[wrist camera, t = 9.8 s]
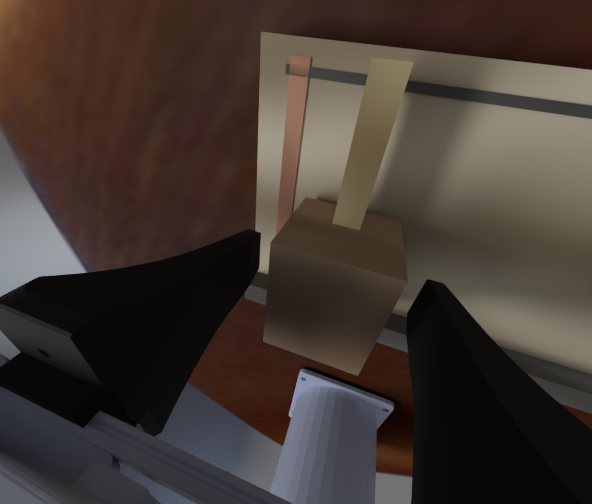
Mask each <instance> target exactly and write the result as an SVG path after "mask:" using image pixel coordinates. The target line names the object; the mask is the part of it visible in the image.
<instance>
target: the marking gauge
mask: <svg viewBox="0 0 592 504" xmlns="http://www.w3.org/2000/svg"><path fill="white" fill-rule="evenodd" d="M413 63H414V62H406V61H398V60H390V59H382V58H374V57H372V59H371V64H370V68H369V72H368V76H367V80H366V85H365V89H364V93H363V97H362V101H361V105H360V110H359V114H358V118H357V122H356V126H355V131H354V135H353V139H352V143H351V147H350V151H349V156H348V160H347V164H346V168H345V172H344V177H343V181H342V185H341V189H340V193H339V197H338V202H337V204H333V203H328V202H324V201H320V200H316V199H312V198H307V197H306V198H305V199H304V200H303V201H302V203H301V204H300V205H299V207H298V208H297V209H296V210H295V212H294V213H293V214H292V216H291V217H290V218H289V219H288V221H287V222H286V223H285V225H284V226H283V227H282V228H281V230H280V231H279V232H278V234H277V235H276V236H275V237H274V239H273V240H272V241H271V243H270V255H269V269H268V283H267V297H266V311H265V325H264V338H263V342H266V343H269V344H271V345H274V346H277V347H280V348H282V349H285V350H288V351H291V352H293V353H296V354H299V355H302V356H304V357H307V358H310V359H313V360H315V361H318V362H321V363H324V364H326V365H329V366H332V367H335V368H337V369H340V370H343V371H346V372H348V373H351V374H354V375H357V376H358V375H359V373H360V371H361V369H362V367H363V365H364V363H365V362H366V360H367V358H368V356H369V354H370V352H371V350H372V348H373V347H374V345H375V343H376V341H377V339H378V337H379V335H380V333H381V332H382V330H383V328H384V326H385V324H386V322H387V320H388V319H389V317H390V315H391V313H392V311H393V309H394V307H395V305H396V304H397V302H398V300H399V298H400V296H401V294H402V292H403V291H404V289H405V287H406V285H407V283H408V276H407V268H406V260H405V252H404V244H403V236H402V228H401V220H399V219H395V218H391V217H387V216H383V215H379V214H374V213H370V212H366V210H367V206H368V203H369V200H370V197H371V194H372V191H373V188H374V185H375V182H376V178H377V175H378V172H379V169H380V166H381V163H382V160H383V157H384V154H385V150H386V147H387V144H388V141H389V138H390V135H391V132H392V129H393V126H394V122H395V119H396V116H397V113H398V110H399V107H400V104H401V101H402V98H403V94H404V91H405V88H406V85H407V82H408V79H409V76H410V73H411V70H412V66H413Z"/></svg>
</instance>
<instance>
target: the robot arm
mask: <svg viewBox="0 0 592 504" xmlns="http://www.w3.org/2000/svg"><path fill="white" fill-rule="evenodd" d="M260 243H261V233H260V232H257V231H253V230H249V229H248V230H245V231H242V232H240V233H237V234H235V235H232V236H230V237H228V238H225V239H223V240H220V241H218V242H215V243H213V244H210V245H207V246H205V247H202V248H199V249H196V250H193V251H191V252H188V253H185V254H182V255H178V256H175V257H171V258H167V259H164V260H160V261H155V262H151V263H146V264H141V265H136V266H131V267H126V268H119V269H113V270H106V271H98V272H90V273H80V274H70V275H69V274H68V275H57V276H43V277H38V278H36V279H34V280H32V281H30V282H28V283H26V284H24V285H22V286H20V287H18V288H17V289H15V290H13V291H11V292H9V293H7V294H5V295H3V296H1V297H0V330H1V331H2V333H4V335H5V336H6V337H7V338H8V339H9V340H10V341H11V342H12V343H13V344H14V345H15V346H16V347H17V348H18V349H19V350H20V351H21V353H19V354H18V355H17V356H15V357H14V358H13V359H11V360H9V359H8V358H6V357H5V356H3V355H2V354H0V504H161V503H160V502H158V501H157V500H156V499H155V498H154V497H153V496H151V494H150V493H149V491H148V489H146V488H145V487H143V486H141V485H140V484H138V483H136V482H135V481H133V480H131V479H130V478H128V477H126V476H125V475H123V474H122V473H120V464H122V465H124V466H126V467H128V468H130V469H131V470H134V471H135V472H137V473H139V474H141V475H143V476H145V477H147V478H149V479H151V480H153V481H154V482H156V483H158V484H160V485H162V486H164V487H166V488H168V489H170V490H172V491H174V492H175V493H177V494H179V495H181V496H183V497H185V498H187V499H189V500H191V501H193V502H195V503H197V504H375V477H376V437H377V429H378V428H379V426H380V425H381V424H382V423H383V422H384V421H385V419H386V418H387V417H388V416H389V415H390V413H391V412H392V411H393V410H394V403H393V402H392V401H390V400H388V399H385V398H382V397H379V396H377V395H374V394H371V393H369V392H366V391H363V390H361V389H358V388H355V387H353V386H350V385H347V384H345V383H342V382H339V381H337V380H334V379H331V378H328V377H326V376H323V375H320V374H318V373H315V372H312V371H310V370H307V369H301V370H300V372H299V376H298V380H297V384H296V388H295V392H294V396H293V400H292V404H291V408H290V412H289V416H290V417H291V421H290V425H289V428H288V432H287V435H286V439H285V442H284V446H283V449H282V453H281V456H280V459H279V463H278V466H277V470H276V473H275V477H274V480H273V484H272V487H271V491H270V492H267V491H265V490H263V489H261V488H259V487H257V486H255V485H253V484H251V483H249V482H247V481H245V480H243V479H241V478H239V477H236V476H234V475H232V474H230V473H228V472H226V471H224V470H222V469H220V468H218V467H216V466H214V465H212V464H209V463H207V462H205V461H203V460H201V459H199V458H197V457H195V456H193V455H191V454H189V453H187V452H185V451H183V450H181V449H178V448H176V447H174V446H172V445H170V444H168V443H166V442H164V441H162V440H160V439H158V438H156V437H154V436H156V435H158V434H159V433H161V432H162V430H163V428H164V426H165V424H166V422H167V420H168V418H169V416H170V414H171V412H172V410H173V408H174V406H175V404H176V402H177V400H178V398H179V396H180V394H181V392H182V391H183V389H184V387H185V385H186V383H187V381H188V379H189V378H190V376H191V374H192V372H193V370H194V368H195V367H196V365H197V363H198V361H199V360H200V358H201V356H202V354H203V352H204V351H205V349H206V347H207V346H208V344H209V342H210V341H211V339H212V337H213V336H214V334H215V332H216V331H217V329H218V328H219V326H220V325H221V323H222V322H223V320H224V319H225V318H226V316H227V315H228V314H229V312H230V311H231V310H232V308H233V307H234V306H235V304H236V303H237V302H238V301H239V299H240V298H241V297H242V295H243V294H244V292H245V291H246V290H247V288H248V287H249V286H250V284H251V282H252V281H253V279H254V277H255V275H256V273H257V271H258V269H259V265H260ZM406 337H407V347H408V356H409V364H410V373H411V381H412V390H413V413H414V440H413V477H412V501H411V504H592V430H591V429H590V428H589V427H587V426H586V425H585V424H584V423H582V422H581V421H580V420H579V419H578V418H576V417H575V416H574V415H573V414H572V413H571V412H569V411H568V410H567V409H566V408H565V407H563V406H562V405H561V404H560V403H559V402H557V401H556V400H555V399H554V398H553V397H552V396H551V395H549V394H548V393H547V392H546V391H545V390H544V389H543V388H542V387H540V386H539V385H538V384H537V383H536V382H535V381H534V380H533V379H532V378H531V377H530V376H529V375H528V374H527V373H525V372H524V371H523V370H522V369H521V368H520V367H519V366H518V365H517V364H516V363H515V362H514V361H513V360H512V359H511V358H510V357H509V356H508V355H507V354H506V353H505V352H504V351H503V350H502V349H501V348H500V347H499V346H498V345H497V343H496V342H495V341H494V340H493V339H492V338H491V337H490V336H489V335H488V334H487V333H486V332H485V330H484V329H483V328H482V327H481V326H480V325H479V324H478V323H477V321H476V320H475V319H474V318H473V317H472V316H471V314H470V313H469V312H468V311H467V310H466V309H465V307H464V306H463V305H462V304H461V303H460V301H459V300H458V299H457V298H456V297H455V295H454V294H453V293H452V292H451V291H450V290H449V289H448V287H447V286H446V285H445V284H444V283H441V282H437V281H433V280H430V279H427V280H426V282H425V283H424V285H423V287H422V289H421V290H420V292H419V294H418V295H417V297H416V299H415V300H414V302H413V304H412V306H411V307H410V309H409V311H408V312H407V326H406ZM119 463H120V464H119Z"/></svg>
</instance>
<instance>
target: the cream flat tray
mask: <svg viewBox="0 0 592 504" xmlns="http://www.w3.org/2000/svg"><path fill="white" fill-rule="evenodd" d="M372 57H374V58H382V59H390V60H398V61H406V62H414V63H413V66H412V70H411V73H410V76H409V79H408V82H407V85H406V88H405V91H404V94H403V98H402V101H401V104H400V107H399V110H398V113H397V116H396V119H395V122H394V126H393V129H392V132H391V135H390V138H389V141H388V144H387V147H386V150H385V154H384V157H383V160H382V163H381V166H380V169H379V172H378V175H377V178H376V182H375V185H374V188H373V191H372V194H371V197H370V200H369V203H368V206H367V210H366V212H370V213H374V214H379V215H383V216H387V217H391V218H395V219H399V220H401V228H402V236H403V244H404V252H405V260H406V268H407V276H408V283H407V285H406V287H405V289H404V291H403V292H402V294H401V296H400V298H399V300H398V302H397V304H396V305H395V307H394V309H393V311H392V313H391V315H390V317H389V319H388V320H387V322H386V324H385V326H384V328H383V330H382V332H381V333H380V335H379V337H378V339H377V341H376V342H378V343H381V344H384V345H387V346H390V347H393V348H396V349H399V350H402V351H405V352H408V347H407V337H406V326H407V312H408V311H409V309H410V307H411V306H412V304H413V302H414V300H415V299H416V297H417V295H418V294H419V292H420V290H421V289H422V287H423V285H424V283H425V282H426V280H427V279H430V280H433V281H437V282H441V283H444V284H445V285H446V286H447V287H448V289H449V290H450V291H451V292H452V293H453V294H454V295H455V297H456V298H457V299H458V300H459V301H460V303H461V304H462V305H463V306H464V307H465V309H466V310H467V311H468V312H469V313H470V314H471V316H472V317H473V318H474V319H475V320H476V321H477V323H478V324H479V325H480V326H481V327H482V328H483V329H484V330H485V332H486V333H487V334H488V335H489V336H490V337H491V338H492V339H493V340H494V341H495V342H496V343H497V345H498V346H499V347H500V348H501V349H502V350H503V351H504V352H505V353H506V354H507V355H508V356H509V357H510V358H511V359H512V360H513V361H514V362H515V363H516V364H517V365H518V366H519V367H520V368H521V369H522V370H523V371H524V372H525V373H527V374H528V375H529V376H530V377H531V378H532V379H533V380H534V381H535V382H536V383H537V384H538V385H539V386H540V387H542V388H543V389H544V390H545V391H546V392H547V393H548V394H549V395H551V396H552V397H553V398H554V399H555V400H556V401H557V402H559V403H561V404H564V405H567V406H570V407H573V408H576V409H579V410H582V411H585V412H588V413H591V414H592V70H588V69H579V68H570V67H562V66H553V65H544V64H536V63H527V62H518V61H510V60H501V59H492V58H483V57H475V56H466V55H457V54H449V53H440V52H431V51H423V50H414V49H405V48H397V47H388V46H379V45H371V44H362V43H353V42H344V41H336V40H327V39H318V38H310V37H301V36H292V35H284V34H275V33H266V32H261V55H260V91H259V126H258V162H257V198H256V231H257V232H260V233H261V243H260V265H259V269H258V271H257V273H256V275H255V277H254V279H253V281H252V282H251V284H250V286H249V287H248V288H247V290H246V291H245V298H246V299H249V300H252V301H255V302H258V303H261V304H264V305H266V297H267V283H268V269H269V255H270V243H271V241H272V240H273V239H274V237H275V236H276V235H277V234H278V232H279V231H280V230H281V228H282V227H283V226H284V225H285V223H286V222H287V221H288V219H289V218H290V217H291V216H292V214H293V213H294V212H295V210H296V209H297V208H298V207H299V205H300V204H301V203H302V201H303V200H304V199H305V198H306V197H307V198H312V199H316V200H320V201H324V202H328V203H333V204H337V202H338V197H339V193H340V189H341V185H342V181H343V177H344V172H345V168H346V164H347V160H348V156H349V151H350V147H351V143H352V139H353V135H354V131H355V126H356V122H357V118H358V114H359V110H360V105H361V101H362V97H363V93H364V89H365V85H366V80H367V76H368V72H369V68H370V64H371V59H372Z"/></svg>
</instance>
